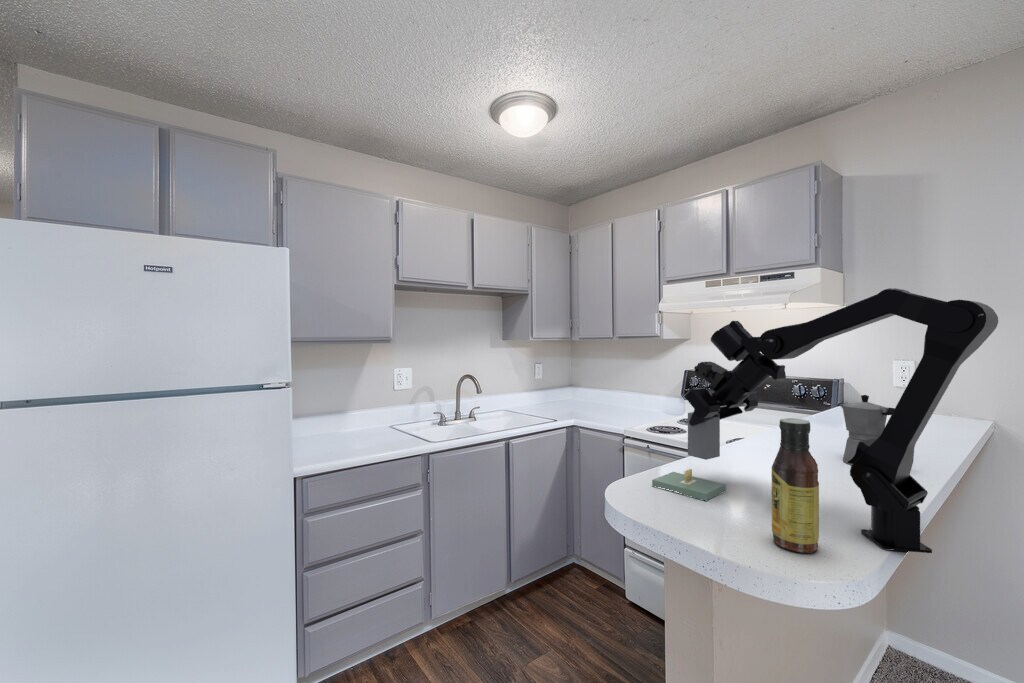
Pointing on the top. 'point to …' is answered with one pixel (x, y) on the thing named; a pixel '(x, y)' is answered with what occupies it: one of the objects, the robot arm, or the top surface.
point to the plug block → (704, 438)
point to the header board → (689, 485)
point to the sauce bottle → (795, 489)
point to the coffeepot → (863, 423)
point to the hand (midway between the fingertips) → (698, 423)
